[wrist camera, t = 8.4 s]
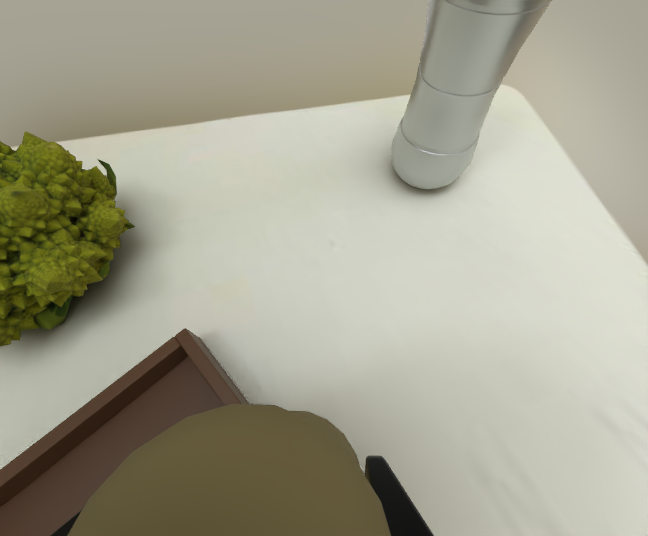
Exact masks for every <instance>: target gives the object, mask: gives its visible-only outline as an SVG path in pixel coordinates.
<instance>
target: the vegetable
mask: <svg viewBox="0 0 648 536" xmlns="http://www.w3.org/2000/svg"><path fill="white" fill-rule="evenodd" d="M97 160H98V159H97ZM98 161H99V162H100V163H101V164H102V165H103V166H104V168H105V169H106V170H107V177H106V176H104V175H103V174H102V173H101V171H100V170H99V169H98V168H97V166H95V167H94V168H92V169H90V170H84V169H82V161H76V159H75V156H73V155H71V154H70V153H69V151H68V150H67V151H66V150H65V149H64V148H63V147H62V146H61V145H59V144H57V143H55V142H46V141H44V140H42V139H40V138H38V137H36V136H34V135H32V134H30V133H28V132H25V133H24V137H23V141H22V145H20V146H19V148H18V149H17V150H16V151H14V150H12V149H11V148H10V146H7V145H5V144H4V143H2V142H0V346H4V345H8V344H11V341H12V340H20V336H21V332H22V331H23V330H27V329H37V328H44V329H52V328H54V327H56V326H58V325H61V324H62V323H63V322H64V320H65V317H66V314H67V311H68V308H69V305H70V302H71V299H72V297H78V296H79V297H81V296H83V294H84V290H88V289H87V285H86V284H90V283H94V282H98V281H102V280H103V279H102V278H106V277H107V275H108V273H109V272H110V266H109V261H111V260H113V249H115V248H118V247H121V245H120V240H119V237H120V236H121V234H122V233H124V232H125V231H127V230H128V229H130V228H133V227H135V226H134V225H132V224H131V223H129V221H128V220H127V219H125V217H124V213H125V210H121V208H115V202H116V201H113V200H114V198H115V196H116V194H117V191H116V176H115V174H114V172H113V171H112V169H111V167H110V165H109V164H107V163H105V162H103V161H101V160H98Z"/></svg>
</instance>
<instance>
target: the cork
mask: <svg viewBox="0 0 648 536" xmlns="http://www.w3.org/2000/svg"><path fill="white" fill-rule="evenodd" d="M67 536H391V534H390V530H389V527H388V524H387V520H386V517H385V514H384V510H383V507H382V503H381V501H380V499H379V498H378V496H377V494H376V493H375V491H374V490H373V488H372V486H371V485H370V483H369V481H368V480H367V478H366V477H365V475H364V473H363V472H362V470H361V468H360V466H359V462H358V459H357V455H356V453H355V452H354V450H353V448H352V447H351V445H350V443H349V442H348V440H347V439H346V437H345V435H344V434H343V433H342V432H341V431H340V430H338V429H337V428H336V427H335V426H334V425H333V424H332V423H330V422H329V421H328V420H327V419H324V418H322V417H319V416H317V415H315V414H312V413H310V412H303V411H287V410H285V409H283V408H280V407H278V406H275V405H254V404H229V405H225V406H222V407H218V408H215V409H212V410H208V411H205V412H202V413H198V414H195V415H191V416H188V417H186V418H184V419H183V420H181V421H179V422H178V423H176V424H174V425H173V426H171V427H170V428H168V429H167V430H165V431H164V432H162V433H161V434H159V435H158V436H156V437H154V438H153V439H151V440H150V441H148V442H147V443H145V444H144V445H142V446H141V447H139V448H138V449H136V450H135V451H133V452H132V453H130V455H129V456H128V457H127V458H126V459H125V460H124V461H123V462H122V463H121V464H120V465H119V466H118V468H117V469H116V470H115V471H114V472H113V473H112V474H111V475H110V476H109V477H108V478H107V479H106V481H105V482H104V483H103V484H102V485H101V486H100V487H99V488H98V489H97V490H96V491H95V492H94V494H93V495H92V496H91V497H90V498H89V499H88V501H87V502H86V504H85V506H84V508H83V509H82V511H81V513H80V515H79V516H78V518H77V520H76V521H75V523H74V525H73V527H72V528H71V530H70V532H69V533H68V535H67Z"/></svg>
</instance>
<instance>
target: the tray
mask: <svg viewBox="0 0 648 536" xmlns="http://www.w3.org/2000/svg"><path fill="white" fill-rule="evenodd" d="M229 404H249V403H248V401H247V400H246V399H245V397H244V396H243V395H242V393H241V392H240V391H239V389H238V388H237V387H236V385H235V384H234V383H233V381H232V380H231V379H230V377H229V376H228V375H227V373H226V372H225V371H224V369H223V368H222V367H221V365H220V364H219V363H218V361H217V360H216V359H215V357H214V356H213V355H212V353H211V352H210V351H209V349H208V348H207V347H206V345H205V344H204V343H203V341H202V340H201V339H200V338H199V337H197V336H196V335H194V334H193V333H192V332H190V331H189V330H187V329H186V328H185V329H183V330H182V331H181V332H179V333H178V334H177V335H176V336H175V337H173V338H171V339H170V340H169V341H167V342H166V343H165V344H164V345H162V346H161V347H160V348H158V349H157V350H156V351H154V352H153V353H152V354H151V355H149V356H148V357H147V358H145V359H144V360H143V361H141V362H140V363H139V364H138V365H136V366H135V367H134V368H132V369H131V370H130V371H128V372H127V373H126V374H124V375H123V376H122V377H121V378H119V379H118V380H117V381H115V382H114V383H113V384H111V385H110V386H109V387H108V388H106V389H105V390H104V391H102V392H101V393H100V394H98V395H97V396H96V397H95V398H93V399H92V400H91V401H89V402H88V403H87V404H85V405H84V406H83V407H82V408H80V409H79V410H78V411H76V412H75V413H74V414H72V415H71V416H70V417H69V418H67V419H66V420H65V421H63V422H62V423H61V424H59V425H58V426H57V427H55V428H54V429H53V430H52V431H50V432H49V433H48V434H46V435H45V436H44V437H42V438H41V439H40V440H39V441H37V442H36V443H35V444H33V445H32V446H31V447H29V448H28V449H27V450H26V451H24V452H23V453H22V454H20V455H19V456H18V457H16V458H15V459H14V460H13V461H11V462H10V463H9V464H7V465H6V466H5V467H3V468H2V469H1V470H0V536H50V535H51V534H53V533H54V532H55V531H56V530H57V529H59V528H60V527H61V526H62V525H64V524H65V523H66V522H67V521H68V520H70V519H71V518H72V517H73V516H75V515H76V514H77V513H78V512H79V511H81V510H82V509H83V508H84V506H85V504H86V502H87V501H88V499H89V498H90V497H91V496H92V495H93V494H94V492H95V491H96V490H97V489H98V488H99V487H100V486H101V485H102V484H103V483H104V482H105V481H106V479H107V478H108V477H109V476H110V475H111V474H112V473H113V472H114V471H115V470H116V469H117V468H118V466H119V465H120V464H121V463H122V462H123V461H124V460H125V459H126V458H127V457H128V456H129V455H130V453H132V452H133V451H135V450H136V449H138V448H139V447H141V446H142V445H144V444H145V443H147V442H148V441H150V440H151V439H153V438H154V437H156V436H158V435H159V434H161V433H162V432H164V431H165V430H167V429H168V428H170V427H171V426H173V425H174V424H176V423H178V422H179V421H181V420H183V419H184V418H186V417H188V416H191V415H195V414H198V413H202V412H205V411H208V410H212V409H215V408H218V407H222V406H225V405H229Z"/></svg>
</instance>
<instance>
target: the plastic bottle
mask: <svg viewBox="0 0 648 536" xmlns="http://www.w3.org/2000/svg"><path fill="white" fill-rule="evenodd" d="M551 1H552V0H429V4H428V12H427V21H426V30H425V37H424V42H423V47H422V52H421V57H420V63H419V67H418V72H417V78H416V81H415V84H414V87H413V90H412V93H411V96H410V99H409V102H408V105H407V108H406V111H405V114H404V117H403V118H402V120H401V122H400V124H399V126H398V129H397V131H396V134H395V136H394V139H393V143H392V164H393V167H394V169H395V171H396V172H397V174H398V175H399V177H400V178H401V179H402V180H403V181H405V182H406V183H407V184H409V185H411V186H414V187H417V188H421V189H437V188H440V187H443V186H446V185H448V184H450V183H452V182H454V181H455V180H456V179H458V178H459V177H460V175H461V174H462V173H463V172H464V170H465V169H466V168H467V167H468V165H469V164H470V162H471V160H472V157H473V154H474V152H475V149H476V146H477V142H478V138H479V132H480V130H481V127H482V125H483V122H484V120H485V117H486V115H487V112H488V110H489V107H490V105H491V102H492V99H493V97H494V95H495V93H496V91H497V90H498V88H499V86H500V84H501V82H502V79H503V77H504V76H505V75H506V73H507V71H508V70H509V68H510V66H511V64H512V63H513V60H514V59H515V57H516V55H517V53H518V52H519V50H520V48H521V47H522V45H523V44H524V42H525V40H526V39H527V37H528V36H529V35H530V33H531V32H532V30H533V29H534V27H535V25H536V24H537V22H538V21H539V19H540V18H541V16H542V15H543V13H544V12H545V10H546V9H547V7H548V6H549V4H550V3H551Z"/></svg>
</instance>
